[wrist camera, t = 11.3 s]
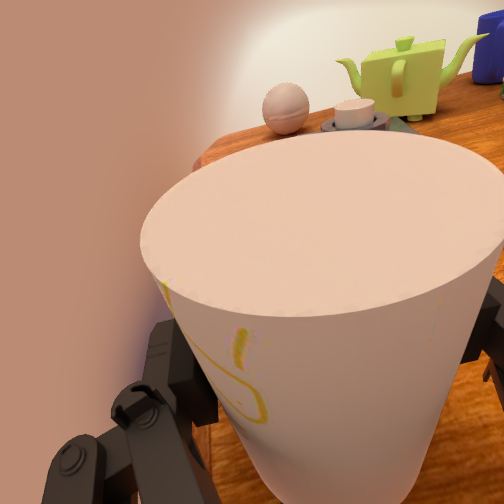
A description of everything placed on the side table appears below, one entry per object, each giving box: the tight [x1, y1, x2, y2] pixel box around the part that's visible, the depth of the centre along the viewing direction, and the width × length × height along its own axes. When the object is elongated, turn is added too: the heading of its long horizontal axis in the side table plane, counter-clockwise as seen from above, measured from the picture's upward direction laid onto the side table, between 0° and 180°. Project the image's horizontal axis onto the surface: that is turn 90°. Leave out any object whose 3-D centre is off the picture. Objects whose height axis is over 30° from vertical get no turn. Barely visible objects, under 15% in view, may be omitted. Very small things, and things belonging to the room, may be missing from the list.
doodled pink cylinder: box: [140, 130, 504, 504], centre depth 11 cm, size 8×8×12 cm
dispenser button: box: [334, 99, 375, 129], centre depth 32 cm, size 4×4×2 cm
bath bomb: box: [262, 83, 309, 135], centre depth 51 cm, size 8×8×8 cm
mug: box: [472, 10, 504, 84], centre depth 50 cm, size 8×12×10 cm
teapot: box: [336, 33, 490, 121], centre depth 46 cm, size 15×13×11 cm
